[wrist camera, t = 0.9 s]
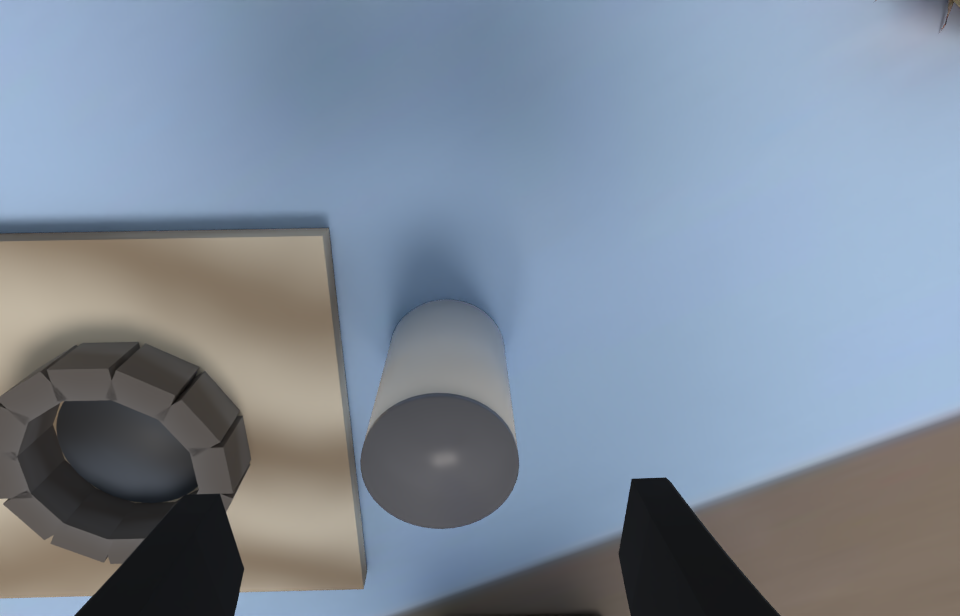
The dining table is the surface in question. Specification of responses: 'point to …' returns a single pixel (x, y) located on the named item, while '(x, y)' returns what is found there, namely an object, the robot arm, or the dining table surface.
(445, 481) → the grey capped cylinder
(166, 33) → the dining table surface
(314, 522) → the tan square tray
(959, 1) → the flower
